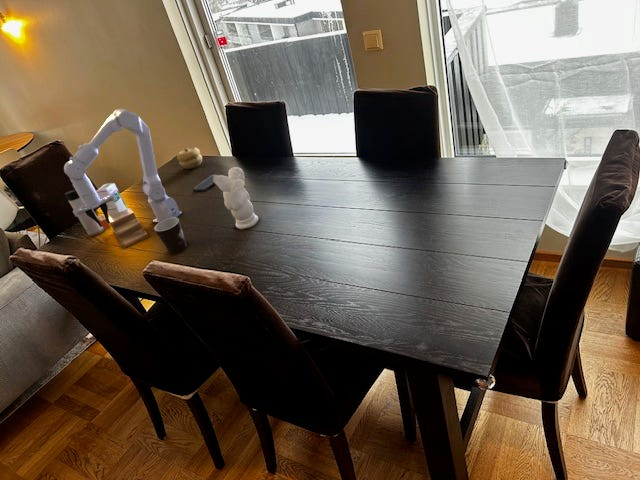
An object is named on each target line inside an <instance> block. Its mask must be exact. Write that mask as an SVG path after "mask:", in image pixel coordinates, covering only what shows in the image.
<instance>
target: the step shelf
mask: <svg viewBox="0 0 640 480" xmlns="http://www.w3.org/2000/svg"><path fill="white" fill-rule="evenodd" d="M108 218H109V221H110V223H109V225H110V227H111V229H112V231H113V232H114V234H115V235H116V238H117V239H118V241H119V243H120V244H121V246H122V248H123V249H126V248H128V247H130V246H133V245H134V244H135V245H136V243H138V242H141V241H144V240H145V239H147V238H149V235H148V233H147V231H145V229H144V227H143V226H142V224H141V222H140V221H139V219H138V218H137V216H136V214H135V212H134V210H132V208H131V207H129V208H128V209H126V210H124V211H122V212H119V213H117V214H115V215H113V216H110V215H109V216H108Z"/></svg>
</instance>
